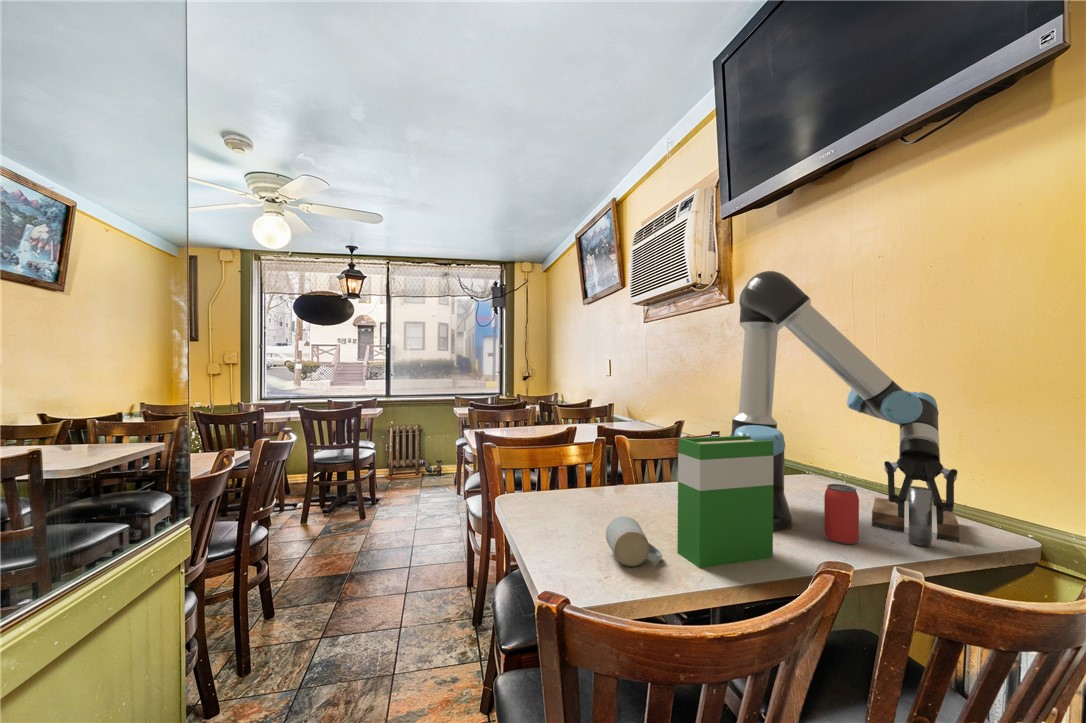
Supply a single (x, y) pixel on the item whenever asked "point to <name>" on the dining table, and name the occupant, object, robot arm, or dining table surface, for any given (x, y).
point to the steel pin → (920, 516)
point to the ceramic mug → (630, 542)
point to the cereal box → (725, 500)
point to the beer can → (841, 514)
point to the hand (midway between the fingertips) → (920, 532)
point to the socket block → (888, 518)
